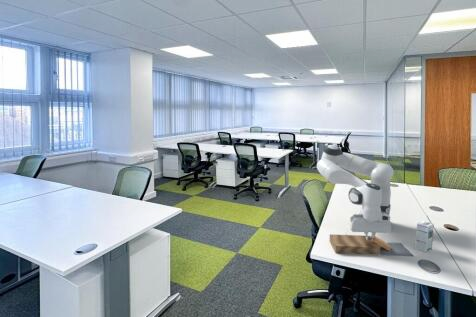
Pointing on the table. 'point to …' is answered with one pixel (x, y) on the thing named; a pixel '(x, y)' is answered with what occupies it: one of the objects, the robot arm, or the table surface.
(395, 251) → the mat
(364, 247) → the deck
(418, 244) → the syrup box
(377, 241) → the block
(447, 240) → the table surface
